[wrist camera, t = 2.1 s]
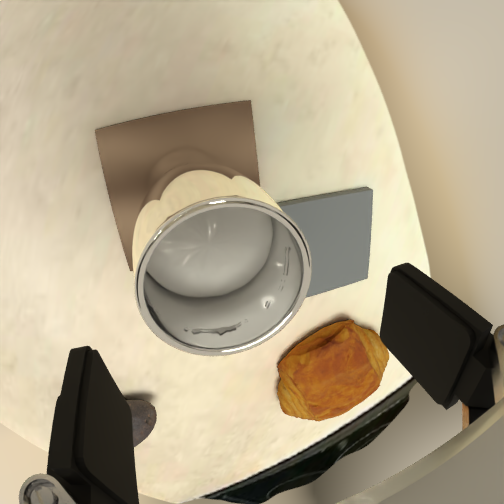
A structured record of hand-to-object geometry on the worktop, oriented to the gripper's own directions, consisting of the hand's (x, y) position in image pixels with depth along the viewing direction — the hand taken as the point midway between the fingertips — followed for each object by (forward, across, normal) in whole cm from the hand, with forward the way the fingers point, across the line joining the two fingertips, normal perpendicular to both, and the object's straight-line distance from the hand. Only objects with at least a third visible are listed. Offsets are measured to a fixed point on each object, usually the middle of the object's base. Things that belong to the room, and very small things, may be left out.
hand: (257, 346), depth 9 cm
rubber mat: (+18, -12, +7) cm, 23 cm away
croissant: (+19, -12, +24) cm, 33 cm away
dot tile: (+18, 0, -1) cm, 18 cm away
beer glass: (+18, 0, -1) cm, 18 cm away
